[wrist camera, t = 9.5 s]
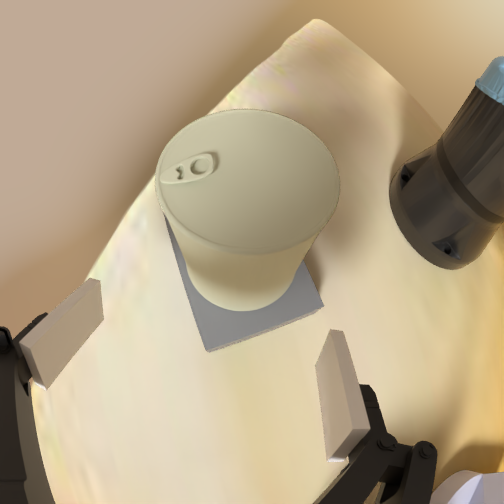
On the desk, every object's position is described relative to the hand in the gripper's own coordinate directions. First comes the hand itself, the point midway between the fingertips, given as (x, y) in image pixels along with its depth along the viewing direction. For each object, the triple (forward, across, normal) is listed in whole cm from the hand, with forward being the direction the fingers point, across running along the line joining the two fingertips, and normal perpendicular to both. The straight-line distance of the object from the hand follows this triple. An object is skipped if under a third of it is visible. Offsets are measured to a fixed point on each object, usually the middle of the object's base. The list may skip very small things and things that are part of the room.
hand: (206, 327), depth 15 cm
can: (+10, +1, 0) cm, 10 cm away
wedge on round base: (-6, +32, -20) cm, 38 cm away
